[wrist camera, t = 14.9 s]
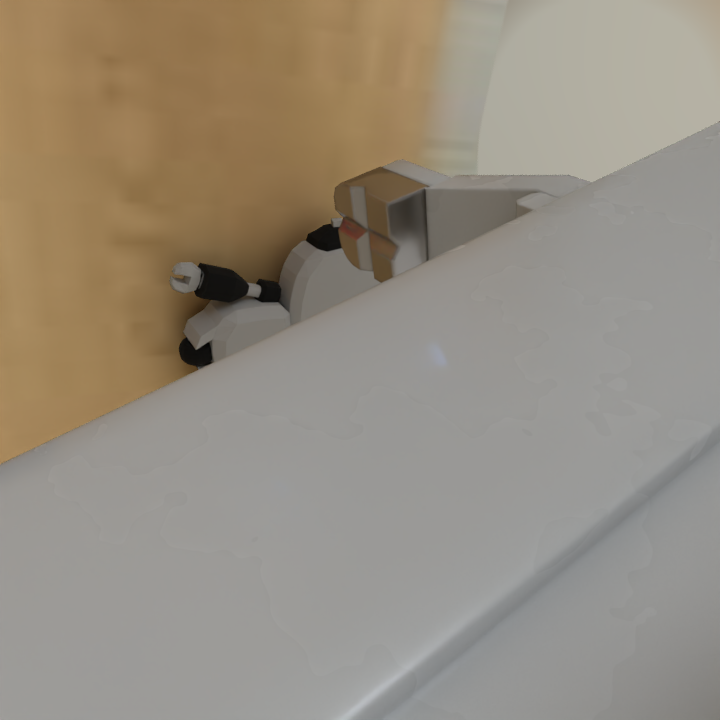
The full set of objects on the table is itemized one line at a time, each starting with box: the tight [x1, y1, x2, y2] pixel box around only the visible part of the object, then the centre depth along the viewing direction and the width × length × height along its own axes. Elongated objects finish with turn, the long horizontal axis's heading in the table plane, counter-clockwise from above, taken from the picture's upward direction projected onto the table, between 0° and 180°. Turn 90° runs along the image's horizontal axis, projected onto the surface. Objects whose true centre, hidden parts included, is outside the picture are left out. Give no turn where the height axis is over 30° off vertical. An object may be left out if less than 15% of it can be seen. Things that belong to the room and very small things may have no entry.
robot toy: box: [169, 218, 381, 369], centre depth 41 cm, size 12×4×15 cm
